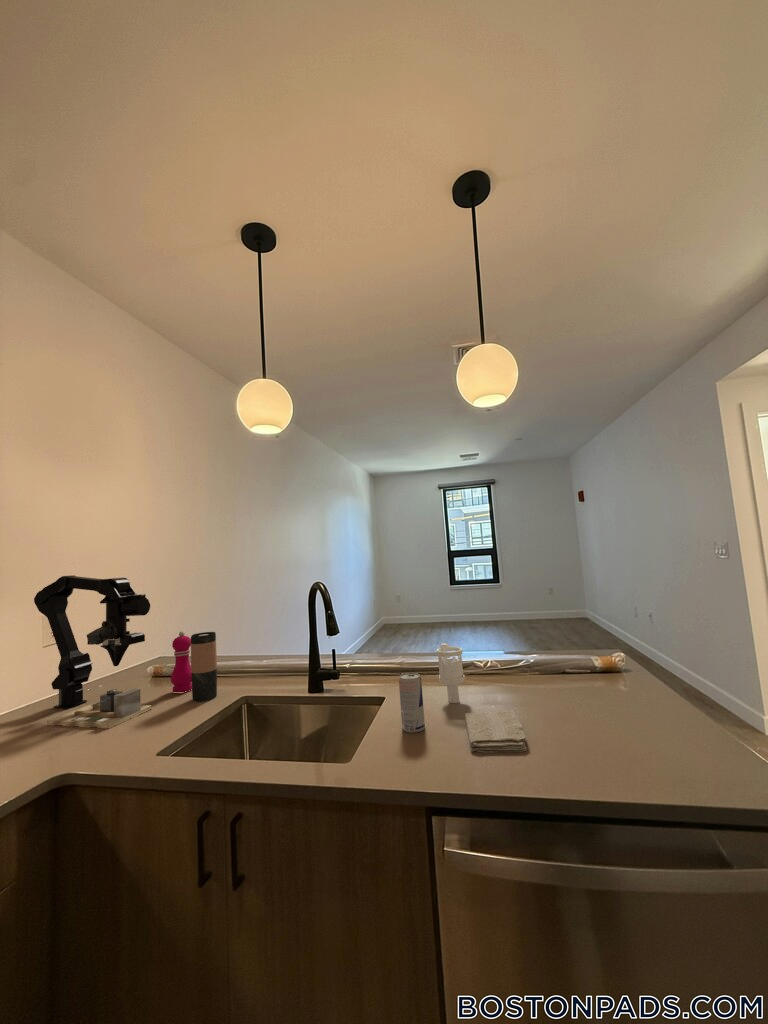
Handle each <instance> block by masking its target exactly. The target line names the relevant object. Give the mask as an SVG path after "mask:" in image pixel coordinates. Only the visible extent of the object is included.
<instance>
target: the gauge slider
mask: <svg viewBox="0 0 768 1024" xmlns="http://www.w3.org/2000/svg"><path fill="white" fill-rule="evenodd" d="M123 692H124V691H123V690H122V691H121V690H120V691H119V690H118V691H117V688H116V689H114V688H113V689H109V690H107V691H106V693H103V694H101V695H99V701H96V702H93V703H91V706H95V705H98V704H100V712H114V695H117V694H120V693H123Z"/></svg>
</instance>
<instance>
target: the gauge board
mask: <svg viewBox="0 0 768 1024" xmlns="http://www.w3.org/2000/svg"><path fill="white" fill-rule="evenodd" d="M122 692H123V693H120V694H117V695H114V712H100V704H98V705H95V706H91V704H92V703H91V704H88V705H85V706H82V707H80V708H77V709H75V710H72V711H69V712H66V713H63V714H61V715H58V716H56V717H53V718H50V719H48V720H46V726H55V725H63V726H62V727H73V726H79V727H78V728H90V727H97V728H96V729H107V728H110V729H112V728H114V727H116V726H118V724H119V725H120V723H121V724H122V722H123V723H125V722H128V721H129V720H128V719H130V718H132V717H134V718H136V717H138V716H137V715H139V714H141V713H143V712H145V713H147V712H146V711H148V710H150V709H153V706H152V705H147V704H141V702H142V701H141V688H131V689H128V690H125V691H122ZM150 711H151V710H150ZM148 712H149V711H148ZM143 714H144V713H143ZM141 715H142V714H141ZM135 716H136V717H135ZM139 716H140V715H139ZM132 719H133V718H132ZM130 720H131V719H130ZM124 721H125V722H124ZM115 725H116V726H115ZM113 726H114V727H113ZM111 727H112V728H111Z"/></svg>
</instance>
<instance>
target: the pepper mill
mask: <svg viewBox="0 0 768 1024" xmlns="http://www.w3.org/2000/svg"><path fill="white" fill-rule="evenodd" d="M185 633H186V632H185V631H183V630H182V631H179V633H178V636H177V637H175V638H174V639H173V640H172V644H171V645H172V646H171V647H172V648H173V650H174V651H173V653H174V655H173V656H174V657H175V661H174V662H175V664H174V668H173V671H172V673H171V675H170V683H171V684H172V685H173V687H172V693H173V692H185V691H189V690H191V689H192V679H191V662H190V659H189V656H190V655H191V637H189V636H188V635H185ZM191 691H192V690H191ZM189 692H190V691H189Z"/></svg>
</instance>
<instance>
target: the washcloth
mask: <svg viewBox="0 0 768 1024" xmlns="http://www.w3.org/2000/svg"><path fill="white" fill-rule="evenodd" d="M464 724H465V726H466V733H467V736H468V743H469V748H470V749H469V750H470V752H471V753H473V752H477V753H478V752H479V753H517V752H518V753H521V752H525V751H527V746H526V743H525V740H526V739H527V737H526V735H525V731H524V728H523V725H522V724H521V722H520V720H519V718H518V717H517V716H516V713H515V712H514V710H507V709H506V710H497V711H491V712H490V711H489V712H485V711H481V712H480V711H476V712H466V713H464Z"/></svg>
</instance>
